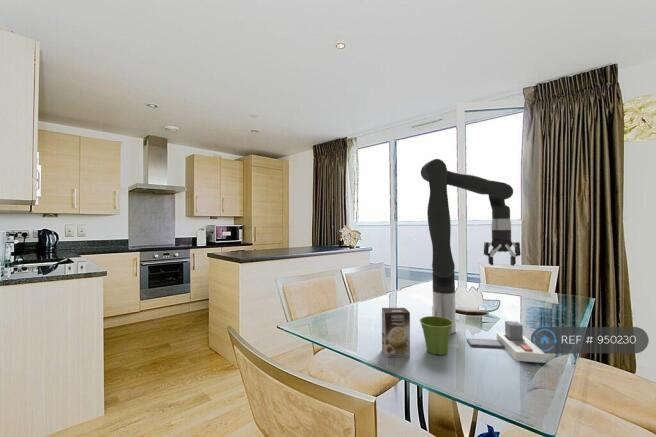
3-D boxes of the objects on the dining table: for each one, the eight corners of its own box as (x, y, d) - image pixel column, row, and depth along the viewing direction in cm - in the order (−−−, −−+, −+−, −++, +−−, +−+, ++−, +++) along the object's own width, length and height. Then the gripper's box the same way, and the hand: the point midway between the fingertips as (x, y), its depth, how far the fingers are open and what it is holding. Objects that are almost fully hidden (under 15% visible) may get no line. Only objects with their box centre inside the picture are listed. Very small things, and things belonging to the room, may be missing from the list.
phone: (470, 346, 115) (470, 344, 115) (466, 340, 121) (466, 338, 121) (504, 348, 113) (504, 346, 113) (498, 342, 119) (498, 339, 119)
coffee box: (385, 357, 107) (384, 312, 107) (381, 350, 113) (380, 307, 113) (410, 356, 107) (410, 312, 107) (405, 349, 114) (404, 307, 114)
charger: (510, 346, 113) (509, 324, 113) (505, 341, 118) (505, 320, 118) (523, 346, 112) (522, 325, 112) (517, 342, 117) (517, 321, 117)
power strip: (516, 360, 103) (516, 349, 103) (496, 339, 121) (496, 330, 121) (545, 362, 101) (545, 351, 101) (521, 341, 119) (521, 331, 119)
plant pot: (426, 342, 120) (426, 314, 120) (457, 349, 112) (457, 319, 112) (415, 352, 111) (414, 322, 111) (447, 361, 103) (447, 329, 103)
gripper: (486, 229, 131) (487, 266, 131) (522, 229, 128) (523, 266, 128) (481, 228, 138) (482, 263, 138) (515, 228, 136) (515, 264, 136)
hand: (502, 265), depth 133 cm, fingers open, 8 cm apart
